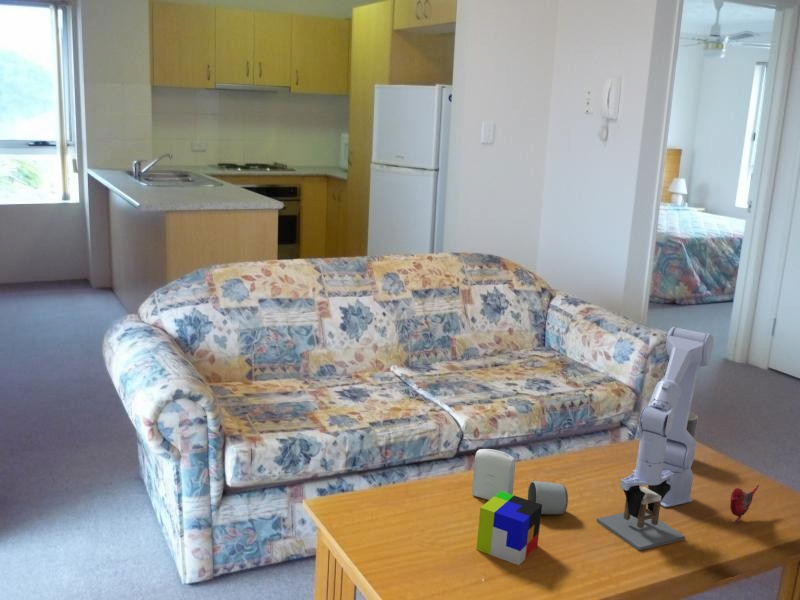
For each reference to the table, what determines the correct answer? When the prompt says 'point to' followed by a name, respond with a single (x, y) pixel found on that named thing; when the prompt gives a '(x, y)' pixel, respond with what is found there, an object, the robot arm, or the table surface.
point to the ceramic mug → (549, 496)
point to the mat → (640, 531)
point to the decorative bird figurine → (741, 502)
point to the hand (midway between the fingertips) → (642, 513)
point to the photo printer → (492, 473)
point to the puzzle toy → (509, 527)
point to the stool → (648, 498)
